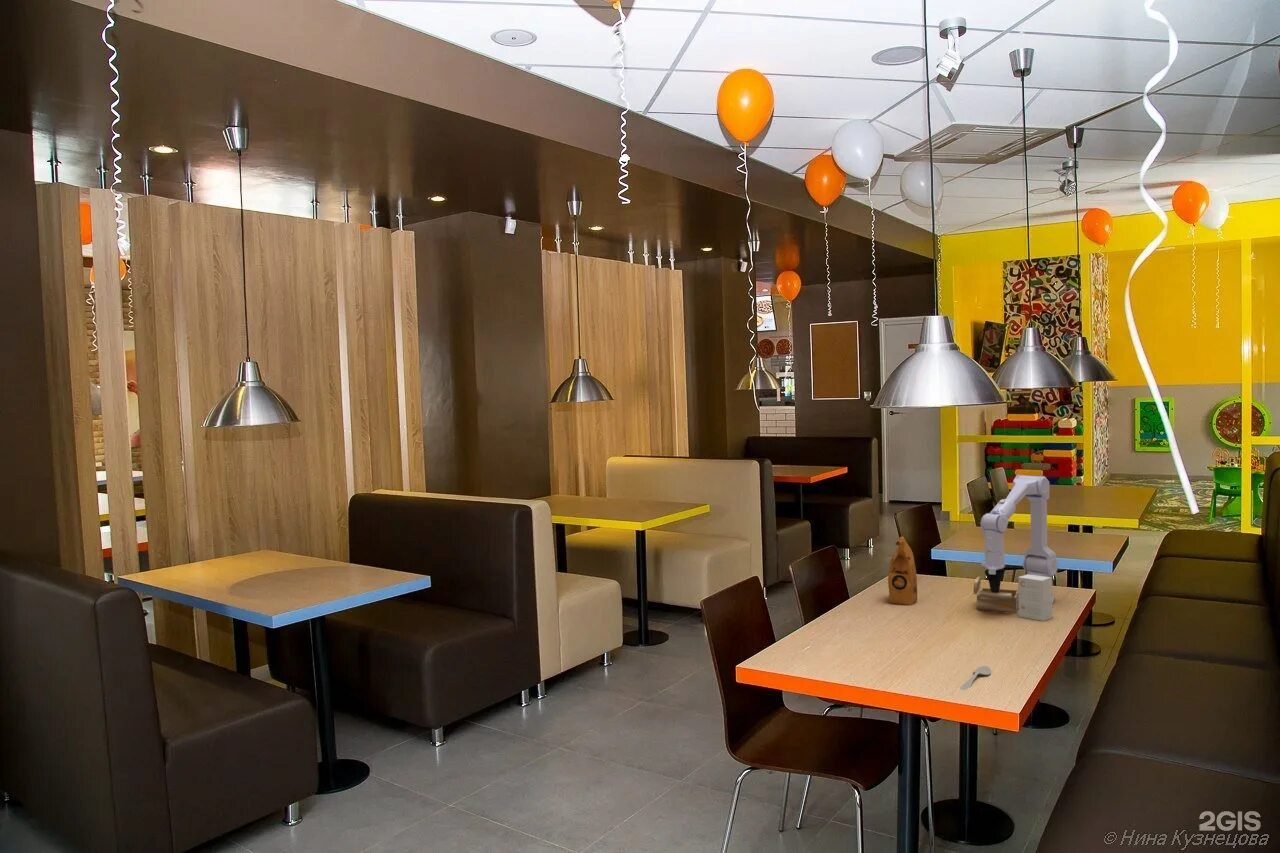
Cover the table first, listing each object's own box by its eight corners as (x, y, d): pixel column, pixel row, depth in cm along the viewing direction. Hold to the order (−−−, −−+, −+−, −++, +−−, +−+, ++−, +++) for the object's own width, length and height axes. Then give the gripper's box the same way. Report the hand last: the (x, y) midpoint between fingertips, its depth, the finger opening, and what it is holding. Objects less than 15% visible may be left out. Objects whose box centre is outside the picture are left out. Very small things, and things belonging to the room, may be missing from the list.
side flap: (981, 576, 299) (977, 576, 299) (977, 582, 291) (974, 582, 291) (980, 588, 299) (977, 587, 300) (976, 594, 291) (973, 593, 291)
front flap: (979, 590, 286) (979, 593, 285) (1011, 593, 281) (1011, 595, 281) (981, 595, 289) (980, 598, 288) (1012, 598, 284) (1012, 601, 284)
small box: (1052, 617, 277) (1052, 577, 277) (1043, 621, 273) (1042, 580, 273) (1027, 613, 284) (1027, 573, 283) (1018, 617, 280) (1017, 576, 279)
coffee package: (884, 604, 302) (883, 541, 301) (891, 596, 313) (890, 535, 312) (914, 606, 297) (913, 542, 296) (920, 598, 308) (918, 536, 308)
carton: (981, 602, 300) (981, 587, 300) (1019, 605, 295) (1019, 590, 294) (976, 610, 290) (976, 595, 289) (1016, 613, 284) (1015, 598, 284)
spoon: (994, 673, 227) (994, 666, 227) (967, 695, 211) (967, 688, 211) (978, 670, 230) (978, 664, 230) (950, 692, 214) (950, 685, 214)
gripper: (983, 546, 290) (984, 586, 291) (978, 553, 278) (979, 596, 278) (1006, 547, 287) (1007, 588, 287) (1002, 555, 274) (1002, 598, 275)
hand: (995, 592), depth 283 cm, fingers closed
